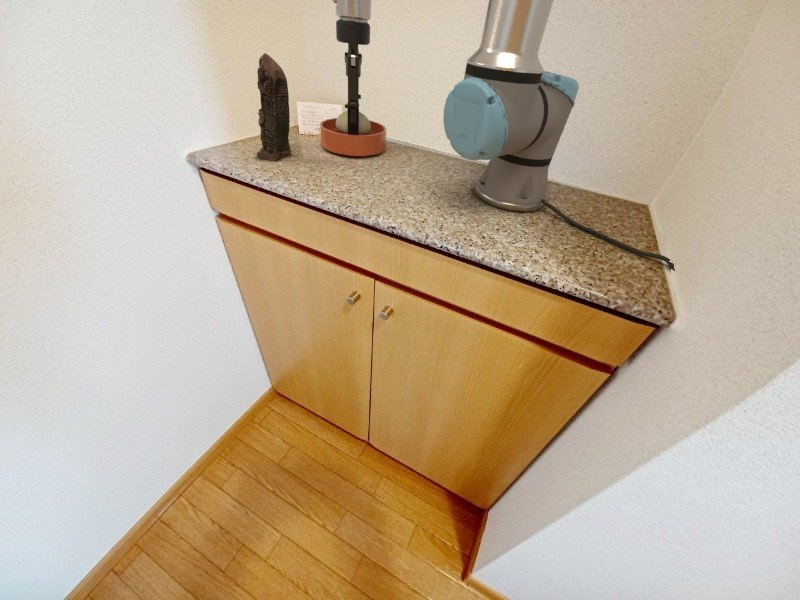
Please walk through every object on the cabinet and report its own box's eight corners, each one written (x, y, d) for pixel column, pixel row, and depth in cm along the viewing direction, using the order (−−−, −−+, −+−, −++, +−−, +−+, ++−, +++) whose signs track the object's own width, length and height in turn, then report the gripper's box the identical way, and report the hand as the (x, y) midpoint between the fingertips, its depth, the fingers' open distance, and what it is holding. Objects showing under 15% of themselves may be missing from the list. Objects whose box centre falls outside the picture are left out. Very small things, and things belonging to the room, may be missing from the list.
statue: (269, 149, 81) (252, 49, 67) (296, 153, 80) (285, 54, 67) (256, 158, 75) (235, 51, 62) (285, 162, 75) (270, 56, 62)
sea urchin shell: (374, 121, 88) (371, 102, 80) (369, 149, 88) (366, 132, 80) (341, 117, 88) (335, 97, 80) (336, 144, 88) (330, 127, 80)
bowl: (397, 151, 89) (399, 129, 86) (353, 163, 79) (353, 139, 75) (353, 135, 97) (353, 115, 93) (307, 145, 86) (305, 122, 82)
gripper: (337, 17, 78) (340, 120, 93) (333, 19, 62) (337, 143, 76) (368, 21, 79) (366, 122, 94) (372, 24, 63) (368, 145, 77)
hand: (353, 131), depth 85 cm, fingers closed on sea urchin shell, 9 cm apart
